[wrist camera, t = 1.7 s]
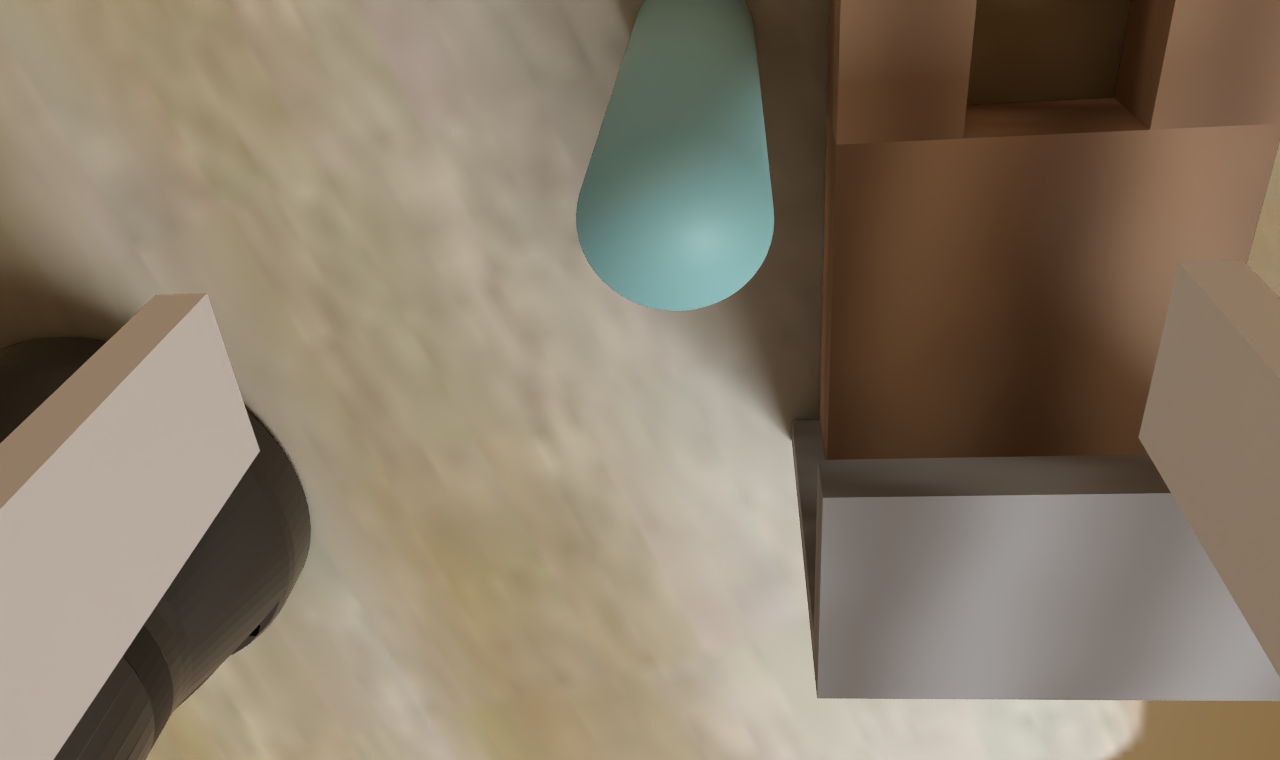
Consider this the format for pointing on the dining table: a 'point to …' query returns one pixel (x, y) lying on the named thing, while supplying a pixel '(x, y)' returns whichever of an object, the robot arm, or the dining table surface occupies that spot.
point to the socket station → (1021, 361)
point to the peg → (681, 161)
